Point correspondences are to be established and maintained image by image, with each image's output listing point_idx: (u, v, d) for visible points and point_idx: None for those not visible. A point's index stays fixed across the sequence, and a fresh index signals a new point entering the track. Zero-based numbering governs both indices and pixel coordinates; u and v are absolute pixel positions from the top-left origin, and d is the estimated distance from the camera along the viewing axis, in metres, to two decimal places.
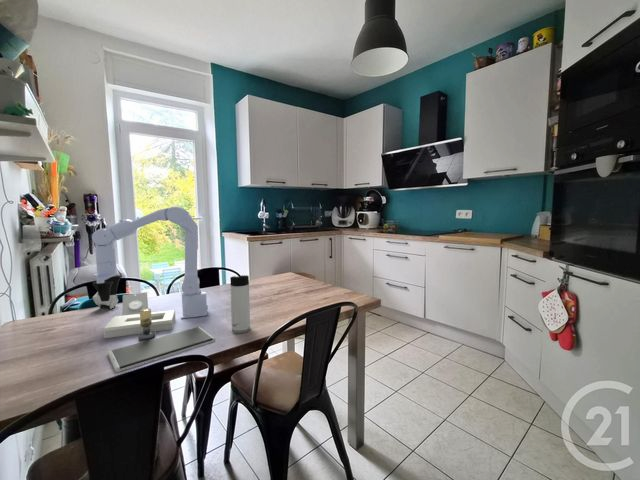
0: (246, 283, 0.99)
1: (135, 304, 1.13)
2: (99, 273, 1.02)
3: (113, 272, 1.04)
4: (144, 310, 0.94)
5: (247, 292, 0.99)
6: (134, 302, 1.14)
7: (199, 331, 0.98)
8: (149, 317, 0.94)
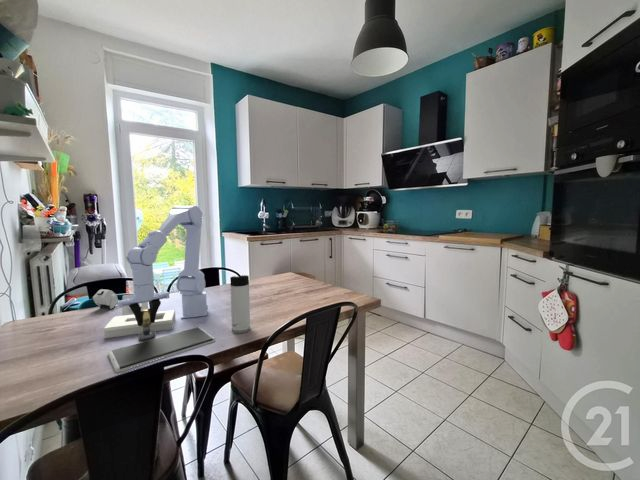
0: (246, 283, 0.99)
1: None
2: None
3: (141, 297, 0.91)
4: (144, 310, 0.94)
5: (247, 292, 0.99)
6: None
7: (199, 331, 0.98)
8: (149, 317, 0.94)
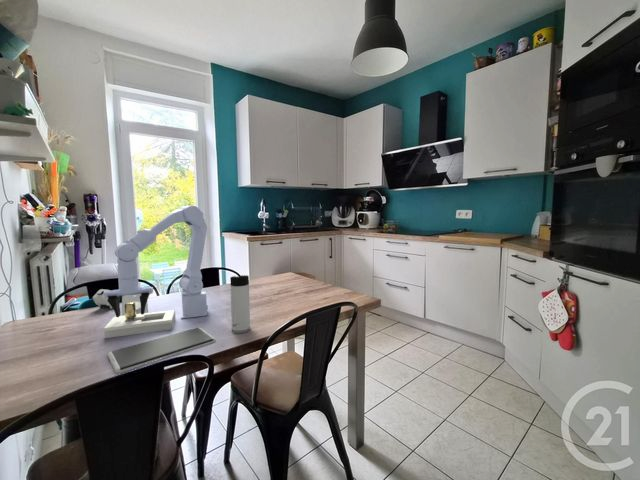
0: (246, 283, 0.99)
1: None
2: None
3: (122, 290, 0.98)
4: (129, 303, 1.01)
5: (247, 292, 0.99)
6: None
7: (199, 331, 0.98)
8: (131, 310, 1.00)
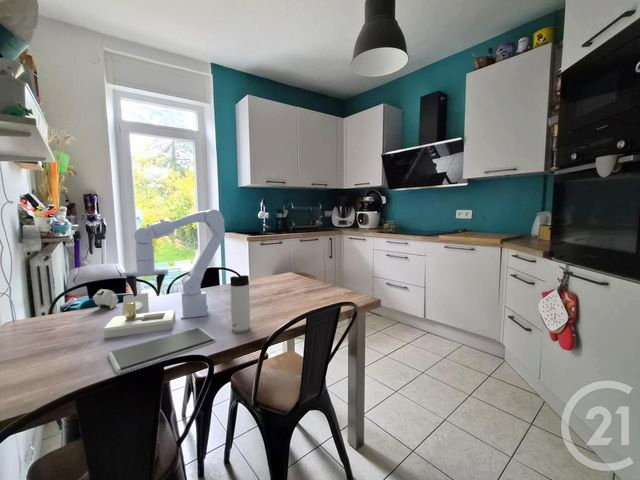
0: (246, 283, 0.99)
1: (135, 305, 1.12)
2: None
3: (139, 271, 1.05)
4: (129, 303, 1.01)
5: (247, 292, 0.99)
6: None
7: (199, 332, 0.98)
8: (131, 310, 1.00)
